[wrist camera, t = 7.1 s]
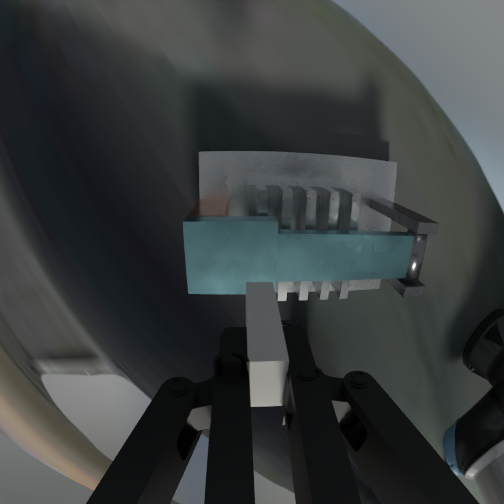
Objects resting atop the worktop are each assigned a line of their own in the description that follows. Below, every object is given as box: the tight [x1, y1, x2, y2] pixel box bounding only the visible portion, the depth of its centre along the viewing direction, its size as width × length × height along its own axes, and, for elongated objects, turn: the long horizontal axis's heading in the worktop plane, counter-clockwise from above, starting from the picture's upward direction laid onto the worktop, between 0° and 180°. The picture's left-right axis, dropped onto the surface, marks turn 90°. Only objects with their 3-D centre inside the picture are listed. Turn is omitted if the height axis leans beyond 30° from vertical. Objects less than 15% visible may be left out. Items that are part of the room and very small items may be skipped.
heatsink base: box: [187, 151, 439, 301], centre depth 27 cm, size 22×16×12 cm
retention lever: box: [183, 216, 428, 294], centre depth 23 cm, size 21×6×2 cm, turn 89°
